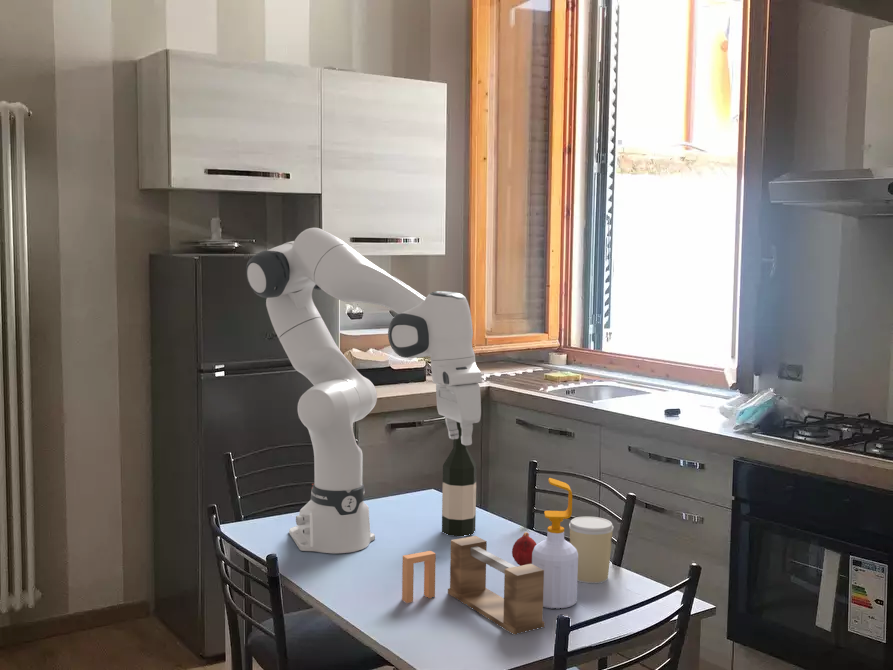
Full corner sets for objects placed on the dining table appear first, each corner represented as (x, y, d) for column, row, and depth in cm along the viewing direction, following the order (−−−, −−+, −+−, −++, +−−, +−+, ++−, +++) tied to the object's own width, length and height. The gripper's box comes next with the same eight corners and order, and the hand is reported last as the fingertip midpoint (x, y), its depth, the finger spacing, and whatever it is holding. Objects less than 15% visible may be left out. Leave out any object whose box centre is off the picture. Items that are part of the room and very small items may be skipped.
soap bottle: (529, 591, 193) (532, 473, 191) (574, 593, 193) (578, 474, 190) (532, 608, 184) (535, 485, 182) (579, 610, 184) (583, 486, 181)
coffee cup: (620, 579, 201) (622, 524, 200) (587, 588, 196) (589, 531, 195) (591, 566, 209) (593, 513, 208) (558, 574, 204) (560, 519, 202)
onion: (536, 574, 204) (537, 537, 203) (510, 571, 205) (510, 535, 204) (539, 565, 209) (540, 529, 208) (513, 562, 210) (514, 527, 210)
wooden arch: (402, 599, 188) (402, 555, 187) (429, 593, 191) (430, 550, 190) (406, 603, 186) (407, 558, 185) (434, 597, 189) (435, 553, 188)
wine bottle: (454, 524, 238) (456, 406, 235) (482, 530, 233) (484, 410, 230) (434, 532, 231) (436, 411, 228) (462, 539, 226) (465, 415, 223)
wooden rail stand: (447, 593, 192) (448, 540, 190) (476, 587, 195) (477, 535, 194) (513, 634, 172) (515, 576, 171) (544, 627, 176) (546, 569, 174)
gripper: (426, 371, 197) (432, 437, 197) (452, 377, 177) (458, 450, 178) (455, 368, 198) (461, 433, 199) (484, 373, 179) (490, 446, 179)
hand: (460, 441), depth 188 cm, fingers open, 8 cm apart
